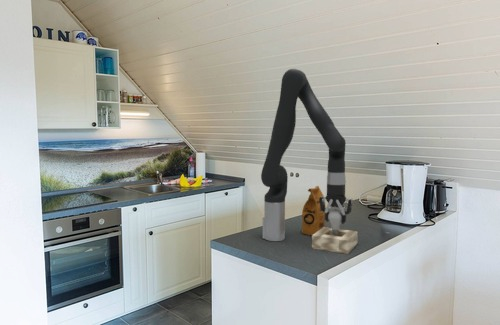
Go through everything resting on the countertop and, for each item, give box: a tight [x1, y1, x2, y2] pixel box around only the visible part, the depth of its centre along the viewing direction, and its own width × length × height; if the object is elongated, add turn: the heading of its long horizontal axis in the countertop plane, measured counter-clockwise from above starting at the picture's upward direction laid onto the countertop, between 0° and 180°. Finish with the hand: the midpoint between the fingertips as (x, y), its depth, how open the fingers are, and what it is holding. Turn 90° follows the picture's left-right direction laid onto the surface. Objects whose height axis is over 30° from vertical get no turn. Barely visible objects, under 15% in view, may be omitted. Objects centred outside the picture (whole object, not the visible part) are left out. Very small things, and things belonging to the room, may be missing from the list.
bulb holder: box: [311, 226, 359, 255], centre depth 155 cm, size 15×15×6 cm
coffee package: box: [301, 185, 326, 236], centre depth 175 cm, size 10×12×22 cm
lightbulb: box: [328, 209, 342, 235], centre depth 154 cm, size 6×6×11 cm
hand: (335, 222), depth 154 cm, fingers closed on lightbulb, 6 cm apart
